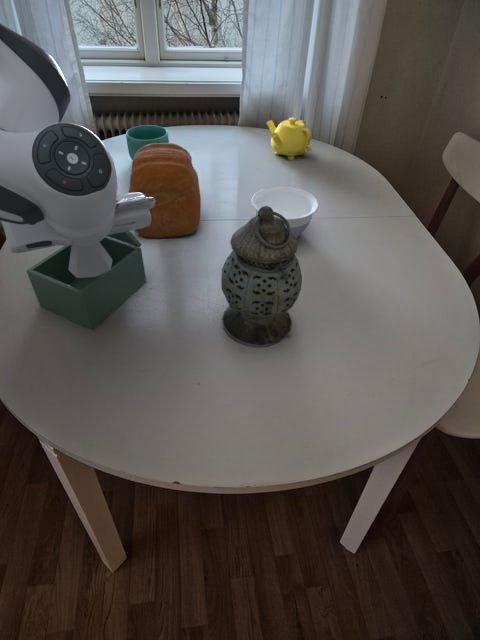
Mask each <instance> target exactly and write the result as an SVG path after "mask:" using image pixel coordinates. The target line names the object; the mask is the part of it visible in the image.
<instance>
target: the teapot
mask: <svg viewBox="0 0 480 640" xmlns="http://www.w3.org/2000/svg"><path fill="white" fill-rule="evenodd" d="M266 125H267V127H268V128H269V131H270V133H271V135H270V136H271V139H270V145H271V146H270V147H272V149H273V150H274V151H275V152H274V155H276V156H280V155H283V156H287V159H288V160H295V156H299V155H301V156H302V155H304V153H305V152H311V151H312V146H311V144H310V142H311V140H312V136H313V135H312V131H311V129H309V128H307V122H306V120H304V119H300V120H298V119H297V118H296V117H289V118H288V119H284V120H282V121H281V122H280V123H279V124H278V125H277V127H276V125H275V123H274V121H273V119H270V120H268V121H266Z"/></svg>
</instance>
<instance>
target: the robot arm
mask: <svg viewBox="0 0 480 640" xmlns="http://www.w3.org/2000/svg"><path fill="white" fill-rule="evenodd" d="M71 96H72V95H71V91H70V89H69V85H68V83H67V81H66V78H65V76H64V74H63V72H62V70H61V68H60V67H59V65H58V63H57V62H56V60H55V59H54V58H53V57H52V56H51V54H50V53H48V52H47V51H46V50H45V49H44V48H42V47H41V46H39V45H38V44H36V43H35V42H33V41H31V40H30V39H28V38H26V37H25V36H23V35H22V34H20V33H18V32H16V31H14V30H12V29H11V28H9V27H8V26H6V25H4V24H2V23H1V22H0V221H1V223H2V227H3V231H4V234H5V235H4V236H5V239H6V241H7V244H8V248H9V250H10V252H11V253H12V254H22V253H23V254H24V253H27V252H31V251H37V250H42V249H47V248H51V247H57V246H62V247H63V246H69V245H75V246H89V245H93V244H95V243H98V242H99V241H101V240H102V239H104V238H105V237H106V236H107V235H111V234H116V233H121V232H126V231H130V232H131V231H136V229H141V228H145V227H147V226H149V225H150V224H151V214H150V211H149V209H151V208H153V207H154V205H155V199H154V198H153V197H149V198H146V197H145V195H144V194H142V193H123V194H118V175H117V169H116V165H115V162H114V159H113V157H112V155H111V153H110V152H109V150H108V148H107V147H106V145H105V144H104V143H103V142H102V140H101V139H100V138H99V137H98V136H97V135H96V134H94V132H92V131H91V130H89V129H88V128H87V127H84V126H82V125H79V124H76V123H72V122H63V121H62V120H63V118H64V116H65V114H66V112H67V110H68V108H69V106H70V104H71V99H72V97H71Z"/></svg>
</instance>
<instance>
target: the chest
mask: <svg viewBox="0 0 480 640" xmlns="http://www.w3.org/2000/svg"><path fill="white" fill-rule="evenodd" d="M99 242H100V243H101V245H102V246H103V247H104V249H105V250H106V252H107V253H108V254H109V256H110V257H111V259H112V265H111V270H110V271H107V272H105V273H103V274H101V275H99V276H96V277H85V278H77V277H75V276H74V275H73V274H72V273H71V272H70V271H69V261H70V254H71V245H69V246H62V247H60V248H59V249H57V250H56V251H54V252H53V253H51V254H49V255H48V256H46V257H45V258H43V259H41V260H40V261H38V262H37V263H35V264H34V265H33V266H31V267H29V268H28V269H27V270H25V271H26V274H27V276H28V279H29V281H30V284H31V287H32V290H33V291H34V294H35V297H36V299H37V302H38V304H39V307H41V308H43V309H45V310H47V311H49V312H51V313H54V314H56V315H59V316H60V317H63V318H65V319H66V320H69V321H72V322H73V323H76V324H78V325H80V326H82V327H84V328H88V329H89V330H92V331H93V330H95V328H97V327H98V326H99V325H100V324H101V323H102V322H104V321H105V320H106V319H107V318H108V317H109V316H111V314H113V313H114V312H115V311H116V310H118V308H119V307H121V306H122V305H123V304H125V302H126V301H128V300H129V299H130V298H131V297H132V296H133V295H134V294H136V293H137V292H138V291H139V290H140V289H141V288H142V287H144V286H145V285H146V284H147V283H148V282H147V276H146V270H145V263H144V258H143V250H142V247H137V246H134V245H131V244H128V243H126V242H123V241H120V240H117V239H114V238H112V237H109V236H106V237H105V238H104V239H102V240H101V241H99Z"/></svg>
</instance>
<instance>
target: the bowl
mask: <svg viewBox="0 0 480 640" xmlns="http://www.w3.org/2000/svg"><path fill="white" fill-rule="evenodd" d="M250 204H251V207H252V208H253V209H254V213H255V216H258V211H259V209H260V208H261V207H263V206H269V207H271V208H272V210H273V211H274V212H276V213H279V214H281V215H282V216H283V217H284V218H285V219H286V220H287V221H288V223H289V225H290V228H291V234H292V235H293V236H294V237H295V239H296V240H298V238H299V235H300V234H301V233H303V232H304V231H305V230H306V229H307V227H308V226H309V225H310V222H311V220H312V218H313V215H314V214H316V213H317V211H318V209H319V201H318V200H317V198H316V197H315V196H314V195H313V194H311V192H308V191H306V190H303V189H301V188H297V187H292V186H283V185H282V186H280V185H279V186H270V187H266V188H262V189H261V190H258V191H256V192H255V193H254V194H253V196H252V197H251V201H250ZM274 216H275V215H274ZM275 217H277V216H275ZM278 218H279V217H278ZM279 219H280V218H279ZM284 224H285V223H284ZM285 226H286V225H285ZM286 228H287V227H286Z"/></svg>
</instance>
